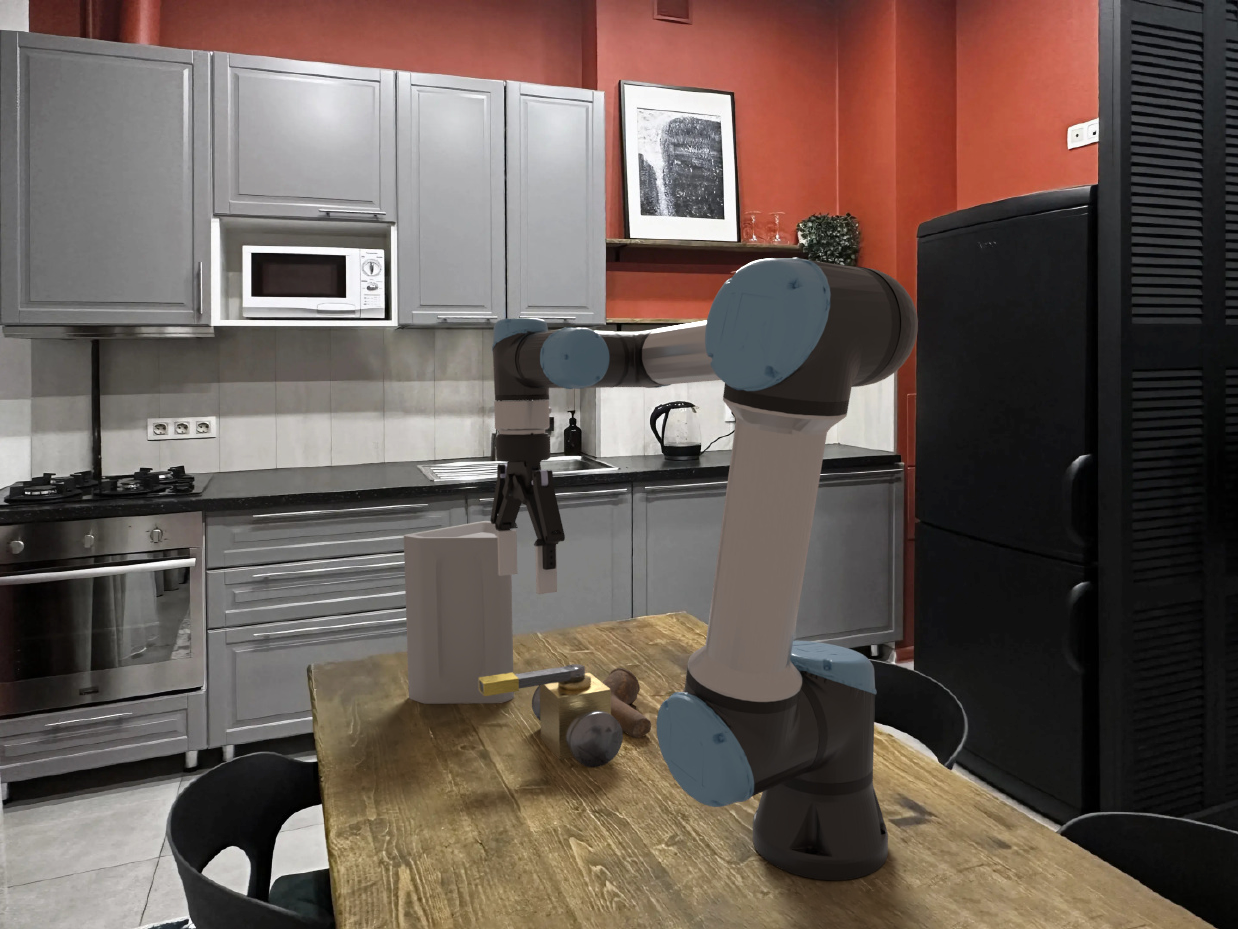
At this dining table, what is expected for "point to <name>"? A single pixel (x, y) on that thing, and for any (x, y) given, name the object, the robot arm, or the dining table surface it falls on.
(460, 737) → the dining table surface
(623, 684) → the pipe
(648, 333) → the robot arm
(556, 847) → the dining table surface
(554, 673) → the lever
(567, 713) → the valve body
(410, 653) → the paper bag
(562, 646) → the dining table surface
